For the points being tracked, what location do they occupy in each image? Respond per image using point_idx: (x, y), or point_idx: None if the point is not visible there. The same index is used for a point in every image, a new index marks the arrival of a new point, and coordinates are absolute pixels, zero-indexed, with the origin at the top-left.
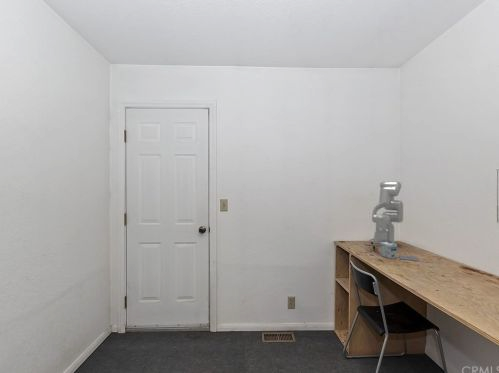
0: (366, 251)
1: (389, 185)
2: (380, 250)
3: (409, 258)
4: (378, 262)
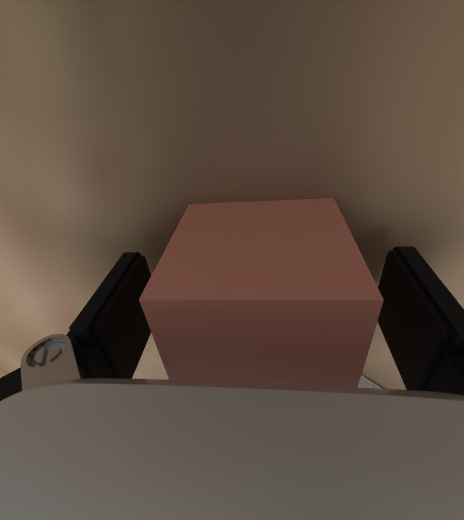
0: (60, 302)
1: None
2: None
3: None
4: None
